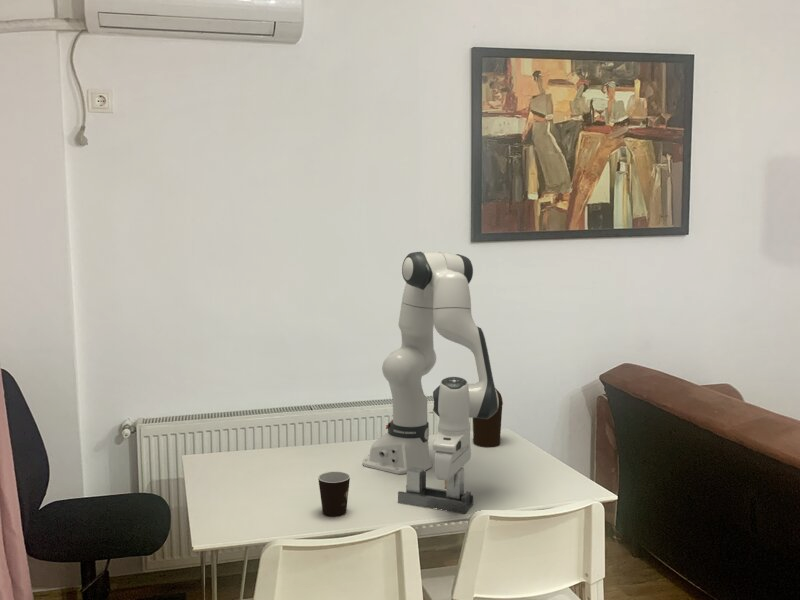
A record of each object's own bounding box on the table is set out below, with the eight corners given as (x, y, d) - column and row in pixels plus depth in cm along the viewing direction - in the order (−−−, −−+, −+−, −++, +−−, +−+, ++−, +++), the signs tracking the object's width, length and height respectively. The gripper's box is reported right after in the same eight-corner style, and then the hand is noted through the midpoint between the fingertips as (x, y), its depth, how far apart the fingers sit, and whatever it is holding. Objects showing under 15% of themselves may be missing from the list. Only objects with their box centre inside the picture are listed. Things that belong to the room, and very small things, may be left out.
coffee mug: (337, 521, 204) (337, 484, 203) (312, 514, 208) (311, 478, 207) (362, 506, 214) (362, 471, 212) (337, 500, 218) (337, 466, 217)
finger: (444, 498, 212) (444, 470, 211) (448, 493, 216) (448, 465, 215) (459, 500, 211) (459, 472, 210) (463, 495, 214) (463, 467, 213)
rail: (397, 502, 216) (397, 471, 215) (407, 494, 223) (407, 464, 222) (465, 513, 208) (465, 481, 207) (473, 504, 215) (473, 473, 214)
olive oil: (484, 449, 263) (484, 378, 260) (465, 441, 272) (466, 372, 269) (508, 444, 269) (509, 374, 266) (489, 437, 278) (490, 369, 275)
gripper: (455, 425, 222) (455, 472, 224) (430, 446, 203) (430, 496, 205) (476, 428, 220) (476, 474, 221) (453, 448, 201) (453, 499, 202)
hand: (454, 485), depth 213 cm, fingers closed on finger, 4 cm apart
